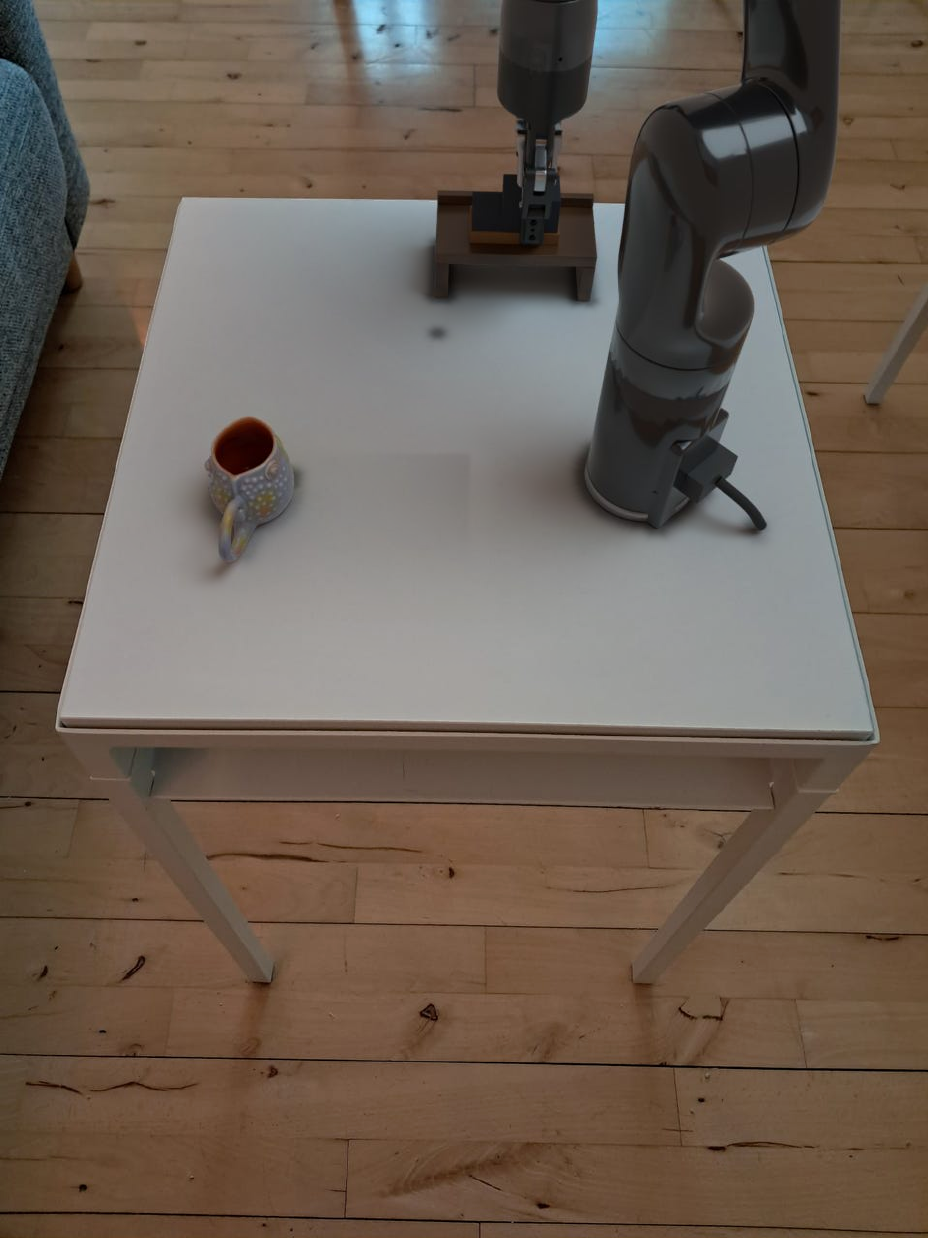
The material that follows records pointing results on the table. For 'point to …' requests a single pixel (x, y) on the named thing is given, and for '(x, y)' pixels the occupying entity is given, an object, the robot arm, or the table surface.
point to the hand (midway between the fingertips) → (530, 226)
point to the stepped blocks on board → (508, 215)
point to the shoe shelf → (570, 250)
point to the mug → (247, 481)
